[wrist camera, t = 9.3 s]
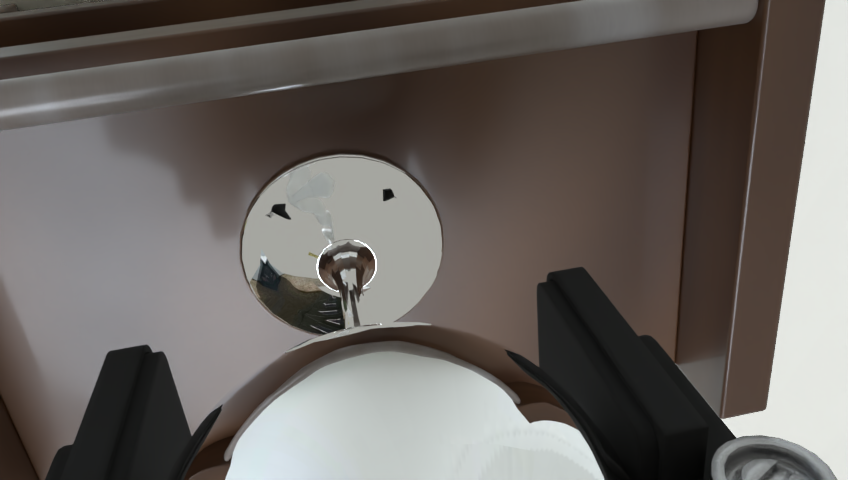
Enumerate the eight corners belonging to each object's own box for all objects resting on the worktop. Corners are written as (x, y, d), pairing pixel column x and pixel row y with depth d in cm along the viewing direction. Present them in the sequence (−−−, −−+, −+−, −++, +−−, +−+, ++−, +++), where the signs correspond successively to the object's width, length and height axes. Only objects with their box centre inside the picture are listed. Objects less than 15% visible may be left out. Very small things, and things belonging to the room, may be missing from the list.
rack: (83, 306, 25) (-47, 580, 15) (-28, 8, 21) (-315, 124, 11) (590, 219, 27) (767, 411, 17) (591, -70, 23) (832, -33, 13)
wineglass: (400, 387, 18) (577, 1131, 7) (167, 312, 16) (-63, 1189, 5) (519, 187, 16) (988, 789, 5) (272, 74, 14) (247, 678, 3)
